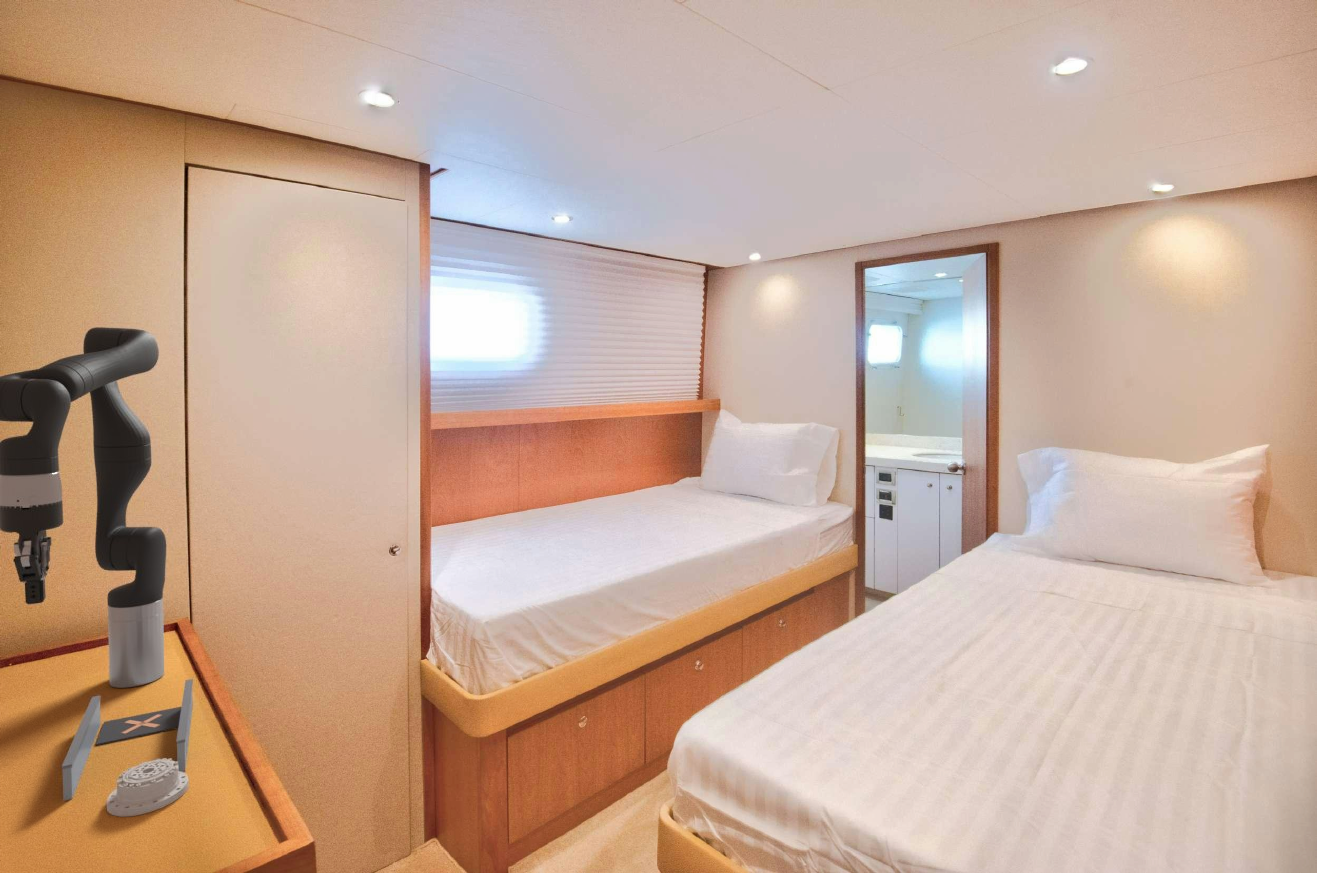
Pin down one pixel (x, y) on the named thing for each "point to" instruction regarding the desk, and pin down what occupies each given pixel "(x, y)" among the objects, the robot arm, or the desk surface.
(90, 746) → the plastic channel
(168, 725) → the pad
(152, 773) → the mechanical component
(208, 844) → the desk surface
